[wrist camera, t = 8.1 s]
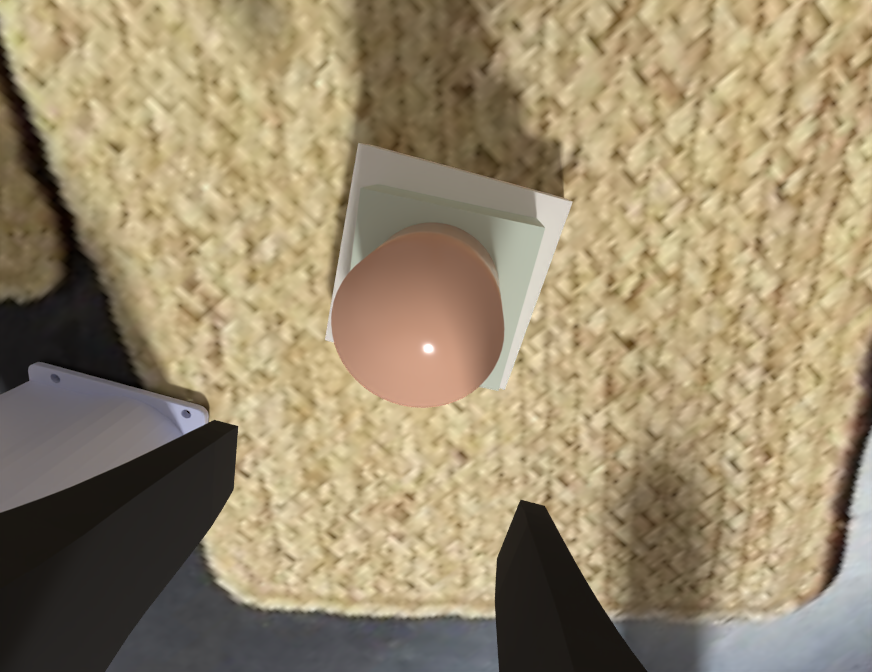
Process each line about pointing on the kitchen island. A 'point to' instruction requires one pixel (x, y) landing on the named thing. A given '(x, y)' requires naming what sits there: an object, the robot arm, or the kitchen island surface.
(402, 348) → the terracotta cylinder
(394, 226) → the tower top
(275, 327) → the kitchen island surface
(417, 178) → the tower base
